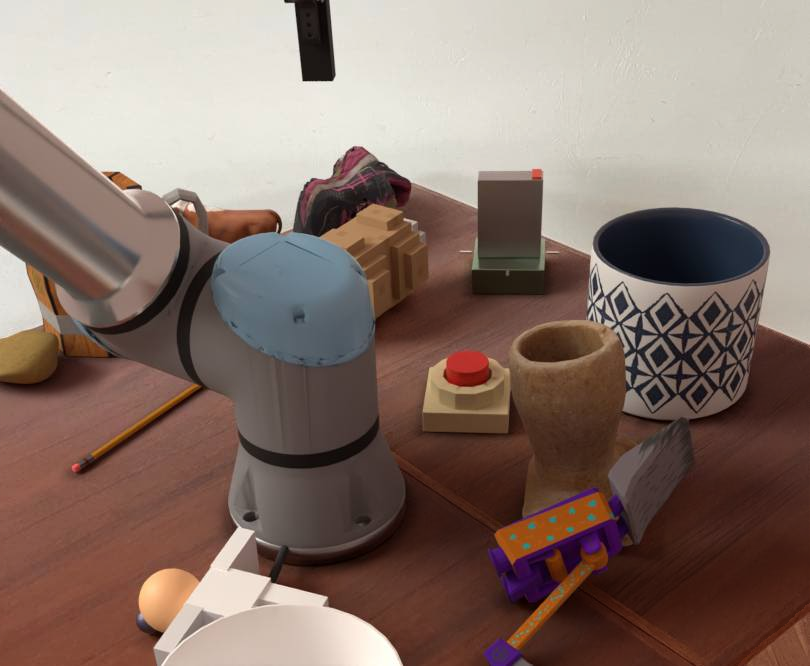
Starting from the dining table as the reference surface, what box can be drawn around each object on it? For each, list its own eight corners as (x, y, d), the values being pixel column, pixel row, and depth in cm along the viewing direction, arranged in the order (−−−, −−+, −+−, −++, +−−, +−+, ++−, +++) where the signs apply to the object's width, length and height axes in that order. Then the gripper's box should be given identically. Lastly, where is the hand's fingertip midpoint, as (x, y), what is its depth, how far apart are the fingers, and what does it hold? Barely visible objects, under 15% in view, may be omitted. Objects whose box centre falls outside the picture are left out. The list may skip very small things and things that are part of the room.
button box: (507, 433, 105) (508, 397, 103) (422, 431, 106) (421, 395, 104) (510, 387, 111) (511, 352, 109) (430, 385, 112) (429, 350, 110)
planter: (571, 342, 117) (579, 211, 108) (723, 333, 117) (744, 202, 108) (596, 429, 105) (607, 290, 96) (766, 420, 105) (793, 280, 96)
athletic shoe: (261, 219, 127) (357, 228, 123) (329, 102, 138) (420, 107, 134) (287, 294, 136) (378, 304, 132) (350, 179, 147) (435, 185, 143)
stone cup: (516, 440, 104) (520, 294, 94) (647, 452, 102) (665, 304, 92) (489, 545, 93) (490, 392, 83) (634, 562, 91) (653, 406, 81)
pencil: (77, 474, 103) (74, 466, 103) (72, 472, 104) (69, 465, 103) (217, 379, 115) (215, 372, 114) (212, 378, 115) (210, 371, 115)
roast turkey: (449, 287, 127) (447, 203, 121) (353, 360, 116) (346, 271, 110) (377, 267, 132) (372, 184, 125) (279, 334, 121) (268, 248, 114)
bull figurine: (176, 260, 135) (169, 192, 131) (286, 265, 134) (283, 196, 130) (166, 273, 131) (158, 203, 127) (279, 278, 130) (276, 208, 126)
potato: (84, 339, 117) (41, 377, 111) (55, 381, 122) (12, 419, 116) (29, 292, 115) (-17, 329, 109) (2, 337, 120) (-43, 374, 114)
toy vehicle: (695, 471, 90) (787, 623, 82) (455, 578, 92) (521, 737, 83) (686, 407, 83) (786, 566, 74) (426, 524, 84) (495, 692, 76)
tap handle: (477, 257, 126) (477, 177, 120) (478, 247, 128) (478, 168, 122) (540, 257, 126) (543, 177, 120) (540, 247, 127) (543, 168, 121)
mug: (46, 368, 118) (5, 234, 108) (44, 308, 128) (7, 181, 118) (231, 335, 121) (208, 202, 111) (216, 280, 131) (193, 153, 121)
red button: (487, 389, 105) (487, 373, 104) (444, 388, 105) (444, 372, 104) (489, 366, 108) (489, 350, 107) (448, 365, 108) (447, 349, 107)
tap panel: (557, 301, 124) (559, 275, 122) (456, 300, 125) (456, 274, 123) (558, 255, 132) (559, 230, 130) (463, 254, 134) (462, 229, 132)
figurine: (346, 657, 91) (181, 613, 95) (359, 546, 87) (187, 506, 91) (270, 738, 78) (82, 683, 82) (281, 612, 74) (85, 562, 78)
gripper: (322, -239, 78) (349, 105, 93) (352, -262, 87) (372, 53, 103) (216, -235, 79) (260, 105, 94) (258, -258, 88) (292, 54, 104)
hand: (319, 78), depth 98 cm, fingers closed
